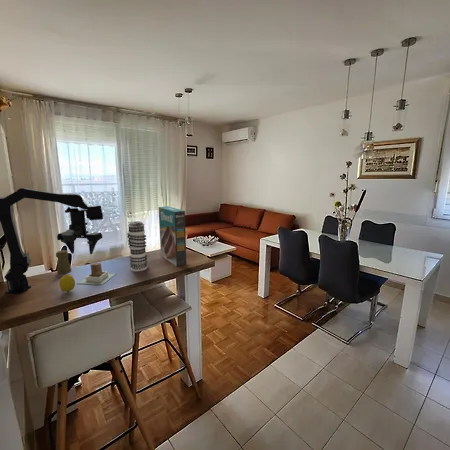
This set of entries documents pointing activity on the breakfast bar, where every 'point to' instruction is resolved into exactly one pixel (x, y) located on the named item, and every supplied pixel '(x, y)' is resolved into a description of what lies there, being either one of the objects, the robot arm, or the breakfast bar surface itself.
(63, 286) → the lemon
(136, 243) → the decorative candle
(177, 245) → the cake mix box
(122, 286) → the breakfast bar surface
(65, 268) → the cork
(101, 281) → the socket
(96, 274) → the peg
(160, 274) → the breakfast bar surface
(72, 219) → the robot arm
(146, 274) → the breakfast bar surface
